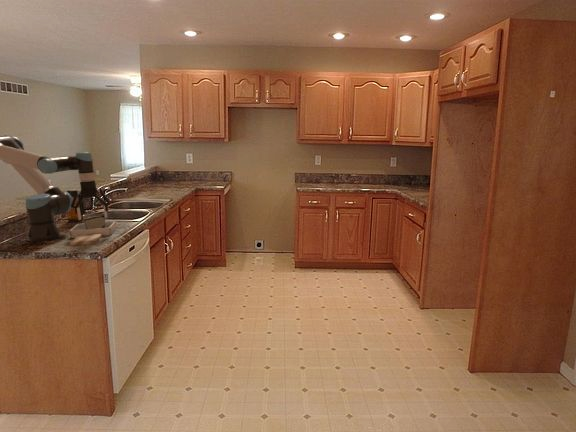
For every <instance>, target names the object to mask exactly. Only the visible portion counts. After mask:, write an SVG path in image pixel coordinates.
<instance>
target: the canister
mask: <svg viewBox="0 0 576 432" xmlns="http://www.w3.org/2000/svg"><path fill="white" fill-rule="evenodd" d="M75 191H76V190H67V191H66V192H67V193H69V194H70V195H71V196H72V198H73V199H74V196H75ZM82 196H83V194H82V193H81V192H80V194H78V197H77V200H76V203H75V205H76V204H77V203H78V201H79V200H80V199H81V197H82ZM78 208H80V214H81V220H78V214H76V213H75V208H72V209H71V210H70V211H68V212H66V217H67V221H68V222H71V223H78V222H81V221H83V217H84V215H85V214H86V212H85V209H84V208H85V207H84V200H83V201H82V202H81V203H80V205H79V206H78Z"/></svg>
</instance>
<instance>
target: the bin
mask: <svg viewBox="0 0 576 432" xmlns="http://www.w3.org/2000/svg"><path fill="white" fill-rule="evenodd" d="M116 229H117V221H105V228H96V229H86V226H85V223H77V224H75V226H73V227H72V228H71V229H69V230H68V232H69V233H68V234H69V237H70V239H74V238H75V237H77V236H78V235H88V234H100V233H102V235H103V236H112V234H113V233H114V232H115V231H116Z"/></svg>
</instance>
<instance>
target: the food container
mask: <svg viewBox="0 0 576 432" xmlns="http://www.w3.org/2000/svg"><path fill="white" fill-rule="evenodd" d="M82 222H83V223H84V224H85V226H86V229H96V228H105V222H106V218H105V215H104V213H96V214H95V213H94V214H88V215H85V216H84V215H83V220H82Z"/></svg>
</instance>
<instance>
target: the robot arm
mask: <svg viewBox="0 0 576 432" xmlns="http://www.w3.org/2000/svg"><path fill="white" fill-rule="evenodd" d="M92 157H93V156H92V153H91V152H89V151H83V152H81V151H80V152H76V153H75V156H73V155H72V156H71V155H70V156H66V155H65V156H58V157H50V156H46V155H42V154H37V153H33V152H31V151H26V150H25V147H24V143H23V142H22V141H21V139H20V138H18V137H16V136H13V135H3V136H2V135H0V160H1V161H3V162H4V163H5V164H7V165H10V166H12V168H13V169H14V170H15V171H16V172H17V173H18V174H19V175H20V177H22V178H23V180H24V181H25V182H26V183H27V184H28V185H29V187H31V189H33V190H34V191H35V193H36V194H33V195H31V196H28V197H27V198H26V199H25V208H26V213H27V220H28V224H29V226H28V232H27V237H26V238H27V241H28V242H29V241H30V242H31V243H38V242H39V243H40V242H41V243H42V242H49V241H54V240H56V239H59V238H60V237H61V232H60V230H59V228H58V226H57V224H56V223H55V217H56V216H59V215H62V214H65V213H66V214H67V212H68V211H70V210H71V209H72V208H75V213H76V214H78V220H81V214H80V208H78V206H79V205H80V203H81V202H82V201H83V202H84V199H85V198H87V199H89V198H94V199H97V200H98V201H99V202H100V203H101V204H102V205H103V211H104V212H103V214H104V215H105V219H106V218H108V211H109V206H110V205H111V204H112V202H111V201H110V199H109V197H107V195H106V193H105V192H104V189H103V188H98V189H97V184H96V180H95V179H96V178H95V171H94V162H93V158H92ZM68 171H78V178H79V181H80V183H79V184H80V190H78V189H76V190H75V196H74V199H73V198H72V196H71V195H70V194H69V193H67V191H62V190H61V189H60V188H59V187H58V186H54V185H53V184H51V182H50V181H49V180H48V179H47V178H46V177H45V176H44V175H43V174H45V175H46V174H49V175H50V174H55V173H60V172H68ZM80 192H81V193H82V194H83V196H82V197H81V199H80V200H79V201H78V203H77V204H76V205H75V203H76V200H77V197H78V194H80ZM98 193H99V194H100V195H101V196H102V197H100V196H99V194H98ZM81 221H82V220H81Z"/></svg>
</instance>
